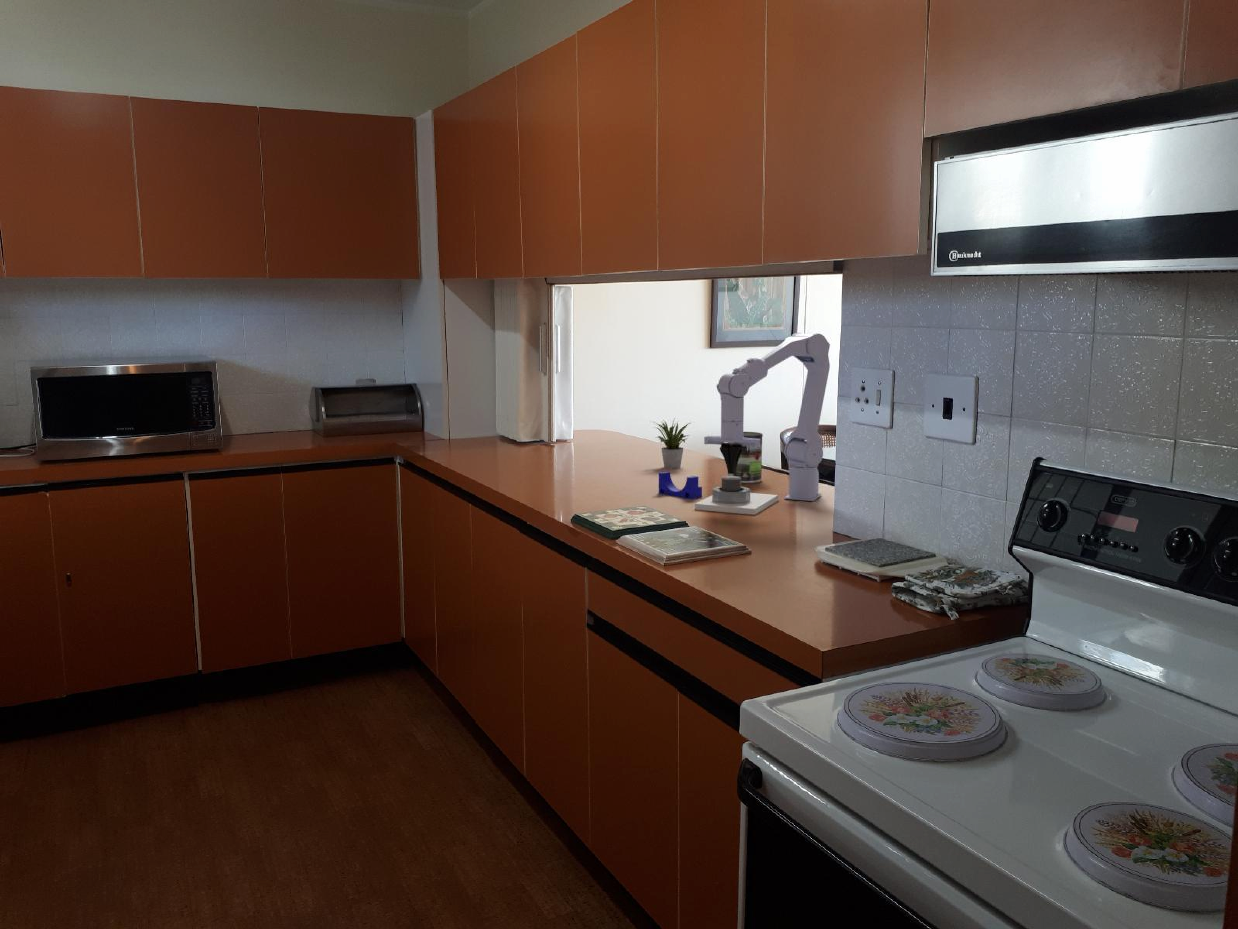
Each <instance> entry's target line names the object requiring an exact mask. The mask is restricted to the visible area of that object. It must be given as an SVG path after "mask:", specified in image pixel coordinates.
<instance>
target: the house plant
mask: <svg viewBox="0 0 1238 929" xmlns="http://www.w3.org/2000/svg"><path fill="white" fill-rule="evenodd" d="M675 419H676V417H675V418H673V420H672V425H671V426H670V427H668V424H667V421H665V420H664V419H663V420H662V421H661V424H658V423H657V422H655V421H653V423H654V424H655V425H658V427H653V429H654V428H655V429H657V430H659V432H660V433H661V435H662V436H660V435H658V436H656V439H657V438H658V439H659V440H660V443H662V442H663V443H664V445H665V446H664V447H661V453H662V454H661V455H662V461H663V468H664V467H665V468H664V469H668V468H677V469H680V468H681V465H682V460H683V454H684V447H680V445H681V444H682V442H683V443H684V444H685V443H686V438H687V437H689V436H690V435H685V434H684V433H683V431H684V430H685V429H686V428H687V427H688V425H690V424H692V422H689V423H686V424H685V425H683V427H681V428H680V429H679V423H678V422H676V424H674V423H675ZM650 422H651V423H652V421H650ZM650 422H649V423H650ZM659 427H660V428H659ZM674 429H675V430H674ZM683 438H684V439H683Z"/></svg>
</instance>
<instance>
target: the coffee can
mask: <svg viewBox="0 0 1238 929" xmlns="http://www.w3.org/2000/svg"><path fill="white" fill-rule="evenodd" d="M763 435H764V434H763V433H761V432H757V431H743V437H746V438H755V439H760V447H753V446H744V449H743V451H742V453H741V455H740V458H739V460H738V463H737V467H736V472H735V473H734V474H728V473H727V476H738V477H741V484H756V483H761V482H762V480H763V479H762V471H763V470H762V464H763V463H762V462H763V461H762V460H763V458H762V457H763ZM727 443H731V442H727ZM739 444H740V443H739ZM742 444H743V443H742ZM760 481H761V482H760Z"/></svg>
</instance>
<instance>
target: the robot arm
mask: <svg viewBox="0 0 1238 929" xmlns="http://www.w3.org/2000/svg"><path fill="white" fill-rule="evenodd" d="M830 346H831V344H830V342H829V340H828V339H827V338H826V337H825V335H823V334H821V333H802V332H795V333H793V334H792V335H791V336H788V337H786V338H785V339H784V341H783V342H781V343H780V344H779V345H777V346H776V347H775V348H773V349H772V350H771V351H769V352H768V353H766V354H765V355H764V356H762V357H761V358H759V357H749V358H747V359H746V363H744V364H743V365H741V366H740V367H738V368H737V367H736V368H734V369H732V373H725V374H723V375H722V376H721V377H720V378H719V379H718V383H716V389H717V392H718V394H719V396H720V402H721V404H720V406H721V407H720V410H721V411H720V435H714V436H713V435H711V436H710V435H706V436H704V437H703V438H704V440H703V445H717V446H718V445H720V447H719V452H720V453H721V454H722V456H723V459H724V461H725V464H726V469H727V475H728V474H734V473H735V472H736V467H737V463H738V460H739V458H740V455H741V453H742V451H743V449H744V446H753V447H760V439H755V438H746V437H743V432H744V412H745V410H744V408H745V406H744V405H745V402H744V401H745V399H744V398H745V396H746V395H747V394H748V392H749V389H750V388H751V387H752V386H754V385H756V384H757V383H759V382H760V381H761V380H763V379H764V378H767V376H768V374H769V373H768V372H769V370H770V369H773V367H776V365H778V364H780V363H782V362H784V361H786V360H787V359H788V358H790V357H794V358H796V359H797V360H798V361H799V362H801V363H802V365H803V366H804V367H805V368H806V370H807V373H806V379H805V382H804V383H805V384H804V389H803V394H802V398H801V399H802V400H801V405H800V409H799V410H800V411H799V415H798V421H797V426H796V428H795V429H794V430H793V431H792V432H790V434H789V439H788V440H787V443H786V444H785V446H784V449H783V450H784V452H783V453H784V456H785V459H787V461H788V465H789V477H788V480H789V481H788V488H789V489H788V494H787V495H786V496H784V499H785V500H796V501H805V502H806V501H808V502H813V501H816V500H818V499H819V498H820V497H821V496H822V495H823V494H822V493H819V482H820V481H819V479H820V474H819V472H820V471H819V469H818V467H819V464H820V463H821V461H823V460H822V459H823V457H824V450H823V441H824V439H823V438H822V435H820V433H819V432H818V431H819V425H820V421H821V416H822V414H821V413H822V411H823V410H822V409H823V404H824V399H825V394H826V389H827V384H828V379H829V372H830V369H831V368H830V366H831V365H830V358H829V352H830V348H831V347H830ZM728 442H731V443H728ZM739 443H740V444H739ZM742 443H743V444H742Z"/></svg>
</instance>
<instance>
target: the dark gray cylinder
mask: <svg viewBox="0 0 1238 929" xmlns="http://www.w3.org/2000/svg"><path fill="white" fill-rule="evenodd" d="M741 487H742V483H741V477H738V476H728V475H725V476H724V475H723V476H722V477H721V491H731V492H733V491H741Z"/></svg>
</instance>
